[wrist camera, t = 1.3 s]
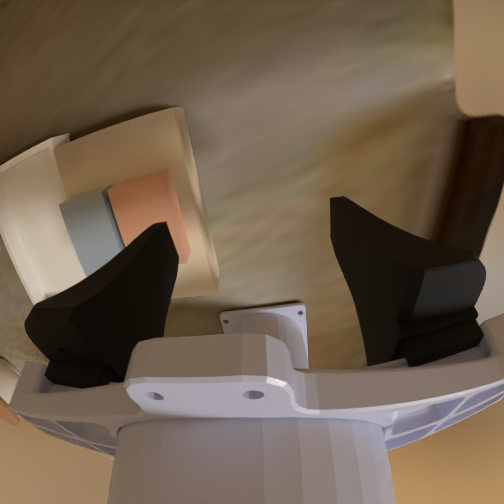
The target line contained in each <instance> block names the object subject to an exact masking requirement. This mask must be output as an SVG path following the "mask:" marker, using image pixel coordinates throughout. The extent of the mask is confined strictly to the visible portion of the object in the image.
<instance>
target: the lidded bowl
mask: <svg viewBox="0 0 504 504" xmlns="http://www.w3.org/2000/svg"><path fill="white" fill-rule="evenodd" d="M19 377H20V373H19V372H18V371H17V370H16V369H15V368H14V367H13V366H12V365H11V364H10V363H8V362H7V361H5V360H4V359H1V358H0V418H2V419H3V420H5V421H7V422H9V423H10V424H13V425H18V424H19V421H20V418H21V417H20V416H19V415H17V414H16V413H14V412H13V411H12V410H11V409H9V407H8V406H9V403H10V400H11V398H12V395H13V392H14V390H15V387H16V384H17V382H18V379H19Z"/></svg>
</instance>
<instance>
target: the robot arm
mask: <svg viewBox="0 0 504 504" xmlns="http://www.w3.org/2000/svg"><path fill="white" fill-rule="evenodd" d="M330 226H331V241H332V245H333V248H334V252H335V255H336V258H337V260H338V263H339V265H340V268H341V270H342V272H343V275H344V277H345V279H346V282H347V284H348V287H349V289H350V292H351V294H352V297H353V300H354V303H355V307H356V311H357V315H358V319H359V323H360V327H361V332H362V336H363V341H364V347H365V352H366V358H367V364H368V367H363V368H358V369H309V366H308V348H307V327H306V309H305V304H304V303H292V304H285V305H277V306H269V307H261V308H253V309H244V310H235V311H225V312H222V313H221V314H220V321H221V324H222V328H223V331H224V334H216V335H201V336H184V337H163V336H164V327H165V321H166V316H167V312H168V308H169V304H170V301H171V297H172V293H173V290H174V286H175V282H176V278H177V273H178V265H179V255H178V253H177V250H176V247H175V244H174V242H173V239H172V236H171V233H170V231H169V228H168V225H167V222H166V221H165V222H159V223H154V224H152V225H151V226H149V227H148V228H147V229H146V230H144V231H143V232H142V233H141V234H140V235H139V236H138V237H136V238H135V239H134V240H133V241H132V242H131V243H130V244H129V245H127V246H126V247H125V248H124V249H123V250H122V251H120V252H119V253H118V254H117V255H116V256H115V257H113V258H112V259H111V260H110V261H109V262H107V263H106V264H105V265H103V266H102V267H101V268H99V269H98V270H97V271H95V272H94V273H92V274H91V275H89V276H88V277H86V278H85V279H83V280H81V281H80V282H78V283H77V284H75V285H73V286H71V287H70V288H68V289H66V290H64V291H62V292H60V293H58V294H56V295H54V296H52V297H49V298H47V299H45V300H43V301H40V302H38V303H36V304H35V305H34V307H33V308H32V310H31V312H30V314H29V315H28V317H27V319H26V321H25V324H24V326H25V330H26V333H27V335H28V336H29V338H30V339H31V340H32V342H33V343H34V344H35V345H36V346H37V347H38V348H39V350H40V351H41V352H42V353H43V354H44V355H45V356H46V357H47V358H48V359H49V360H50V362H49V364H48V367H47V366H46V365H44V364H42V363H37V362H31V361H26V363H25V365H24V368H23V370H22V372H21V375H20V377H19V379H18V382H17V384H16V387H15V390H14V392H13V395H12V398H11V400H10V403H9V406H8V407H9V409H11V410H12V411H13V412H14V413H16V414H17V415H19V416H20V417H21V418H23V419H24V420H26V421H27V422H28V423H30V424H32V425H33V426H34V427H36V428H37V429H39V430H41V431H42V432H44V433H45V434H47V435H50V436H53V437H55V438H58V439H61V440H64V441H67V442H70V443H72V444H75V445H78V446H81V447H84V448H87V449H90V450H93V451H96V452H100V453H103V454H106V455H110V456H113V457H114V462H113V468H112V474H111V481H110V488H109V495H108V502H107V504H396V503H395V496H394V489H393V484H392V477H391V471H390V466H389V460H388V455H387V451H389V450H392V449H395V448H398V447H401V446H403V445H406V444H409V443H411V442H414V441H416V440H419V439H422V438H424V437H426V436H429V435H431V434H433V433H436V432H438V431H440V430H442V429H444V428H447V427H449V426H451V425H453V424H455V423H457V422H459V421H461V420H463V419H465V418H467V417H469V416H471V415H473V414H475V413H477V412H479V411H481V410H482V409H484V408H486V407H488V406H490V405H492V404H494V403H496V402H497V401H499V400H500V399H502V398H503V397H504V314H501V315H499V316H496V317H493V318H491V319H488V320H486V321H484V322H483V323H482V324H481V325H480V326H479V325H478V323H477V321H476V318H477V317H478V313H477V311H476V309H475V307H474V306H475V304H476V302H477V300H478V298H479V296H480V293H481V291H482V289H483V286H484V283H485V280H486V270H485V266H484V265H483V264H482V263H481V261H480V260H479V259H478V257H477V256H476V255H475V254H474V252H473V251H472V250H467V249H462V248H456V247H451V246H447V245H443V244H440V243H436V242H433V241H430V240H426V239H424V238H421V237H418V236H416V235H413V234H410V233H408V232H406V231H404V230H401V229H399V228H397V227H395V226H393V225H391V224H389V223H387V222H386V221H384V220H382V219H380V218H378V217H377V216H375V215H373V214H372V213H370V212H368V211H367V210H365V209H364V208H362V207H361V206H359V205H357V204H356V203H354V202H353V201H351V200H349V199H348V198H346V197H344V196H342V197H333V198H330ZM299 311H302V312H300V313H299ZM224 320H228V321H224Z"/></svg>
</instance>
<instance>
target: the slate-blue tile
mask: <svg viewBox="0 0 504 504" xmlns="http://www.w3.org/2000/svg"><path fill="white" fill-rule="evenodd" d="M112 186H113V184H111V185H108V186H104V187H101V188H97V189H94V190H90V191H87V192H84V193H81V194H77V195H74V196H71V197H70V198H68V199H66V200H65V201H63V202H62V203H60V204H59V208H60V211H61V214H62V217H63V220H64V222H65V225H66V228H67V231H68V233H69V236H70V239H71V241H72V244H73V246H74V249H75V251H76V254H77V256H78V258H79V261H80V263H81V266H82V268H83V270H84V272H85V275H86V277H87V276H89V275H91V274H92V273H94V272H95V271H97V270H98V269H99V268H101V267H102V266H103V265H105V264H106V263H107V262H109V261H110V260H111V259H112V258H113V257H115V256H116V255H117V254H118V253H119V252H120V251H122V250H123V249H124V248H125V244H124V242H123V239H122V236H121V233H120V230H119V227H118V224H117V221H116V218H115V215H114V212H113V208H112V205H111V202H110V199H109V195H108V192H107V190H108V189H109V188H111V187H112Z"/></svg>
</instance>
